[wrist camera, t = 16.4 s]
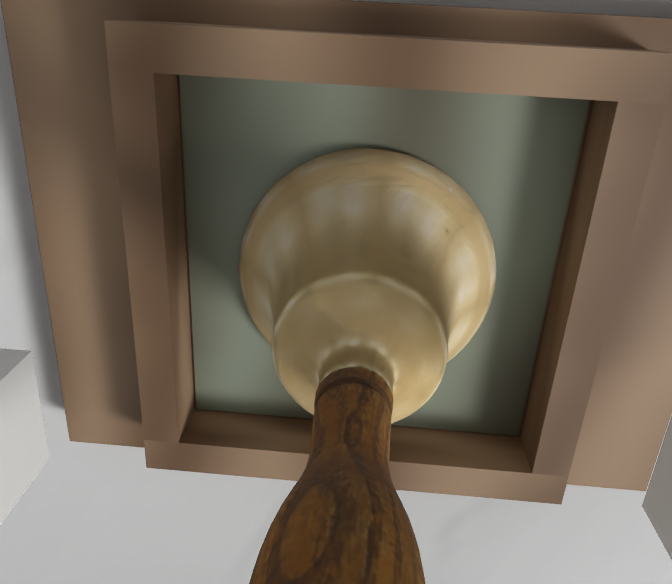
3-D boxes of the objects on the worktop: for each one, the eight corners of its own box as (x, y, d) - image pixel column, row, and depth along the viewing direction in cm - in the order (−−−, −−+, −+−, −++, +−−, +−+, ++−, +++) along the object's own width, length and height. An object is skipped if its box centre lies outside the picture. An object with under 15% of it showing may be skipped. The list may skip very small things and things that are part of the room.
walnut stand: (86, 417, 25) (44, 476, 22) (25, -17, 19) (-48, -23, 16) (631, 464, 24) (667, 531, 21) (768, 24, 18) (852, 27, 15)
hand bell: (201, 319, 21) (-181, 981, 7) (307, 97, 18) (4, 451, 3) (412, 418, 22) (472, 1168, 8) (547, 225, 19) (1075, 900, 5)
